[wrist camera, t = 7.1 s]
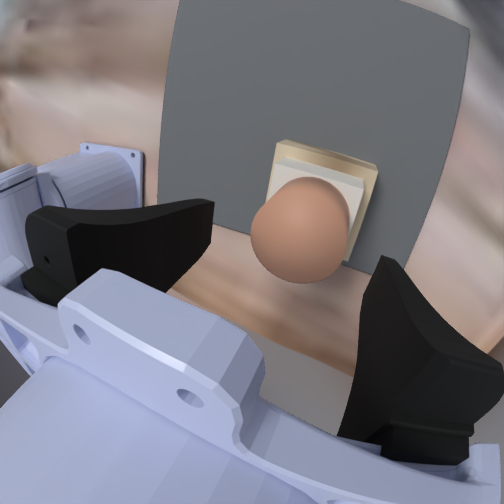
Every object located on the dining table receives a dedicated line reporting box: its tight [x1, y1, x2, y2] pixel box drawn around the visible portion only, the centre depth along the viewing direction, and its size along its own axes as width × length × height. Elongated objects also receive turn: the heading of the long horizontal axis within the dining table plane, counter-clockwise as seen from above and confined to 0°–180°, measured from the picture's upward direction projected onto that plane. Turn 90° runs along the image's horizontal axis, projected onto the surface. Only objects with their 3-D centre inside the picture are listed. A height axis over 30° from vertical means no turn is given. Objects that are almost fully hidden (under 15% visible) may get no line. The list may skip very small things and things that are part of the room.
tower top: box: [268, 157, 364, 240], centre depth 17 cm, size 5×5×2 cm
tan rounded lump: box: [251, 177, 350, 284], centre depth 15 cm, size 4×4×4 cm
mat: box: [157, 0, 469, 275], centre depth 18 cm, size 22×21×1 cm
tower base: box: [265, 139, 378, 261], centre depth 19 cm, size 6×6×2 cm
